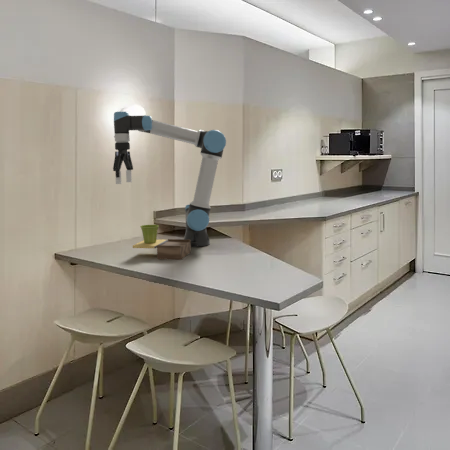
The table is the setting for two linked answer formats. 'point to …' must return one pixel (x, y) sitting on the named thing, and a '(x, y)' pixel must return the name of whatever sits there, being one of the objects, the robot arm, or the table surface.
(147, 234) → the plant pot
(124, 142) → the robot arm
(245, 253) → the table surface
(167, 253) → the brown cardboard box
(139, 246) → the pale yellow rectangular panel
